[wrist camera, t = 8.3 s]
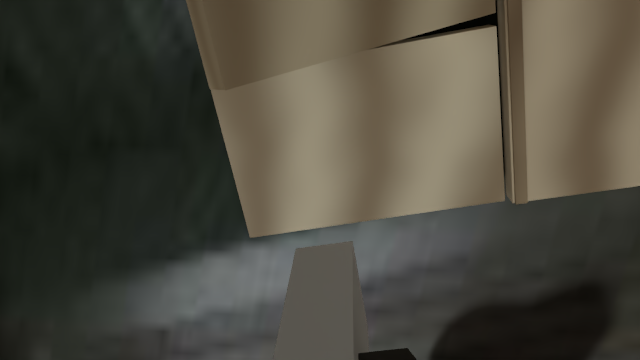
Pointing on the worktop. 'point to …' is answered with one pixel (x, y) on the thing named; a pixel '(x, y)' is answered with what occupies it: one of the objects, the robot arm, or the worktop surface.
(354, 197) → the far plank
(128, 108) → the worktop surface
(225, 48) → the near plank
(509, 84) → the laid board
